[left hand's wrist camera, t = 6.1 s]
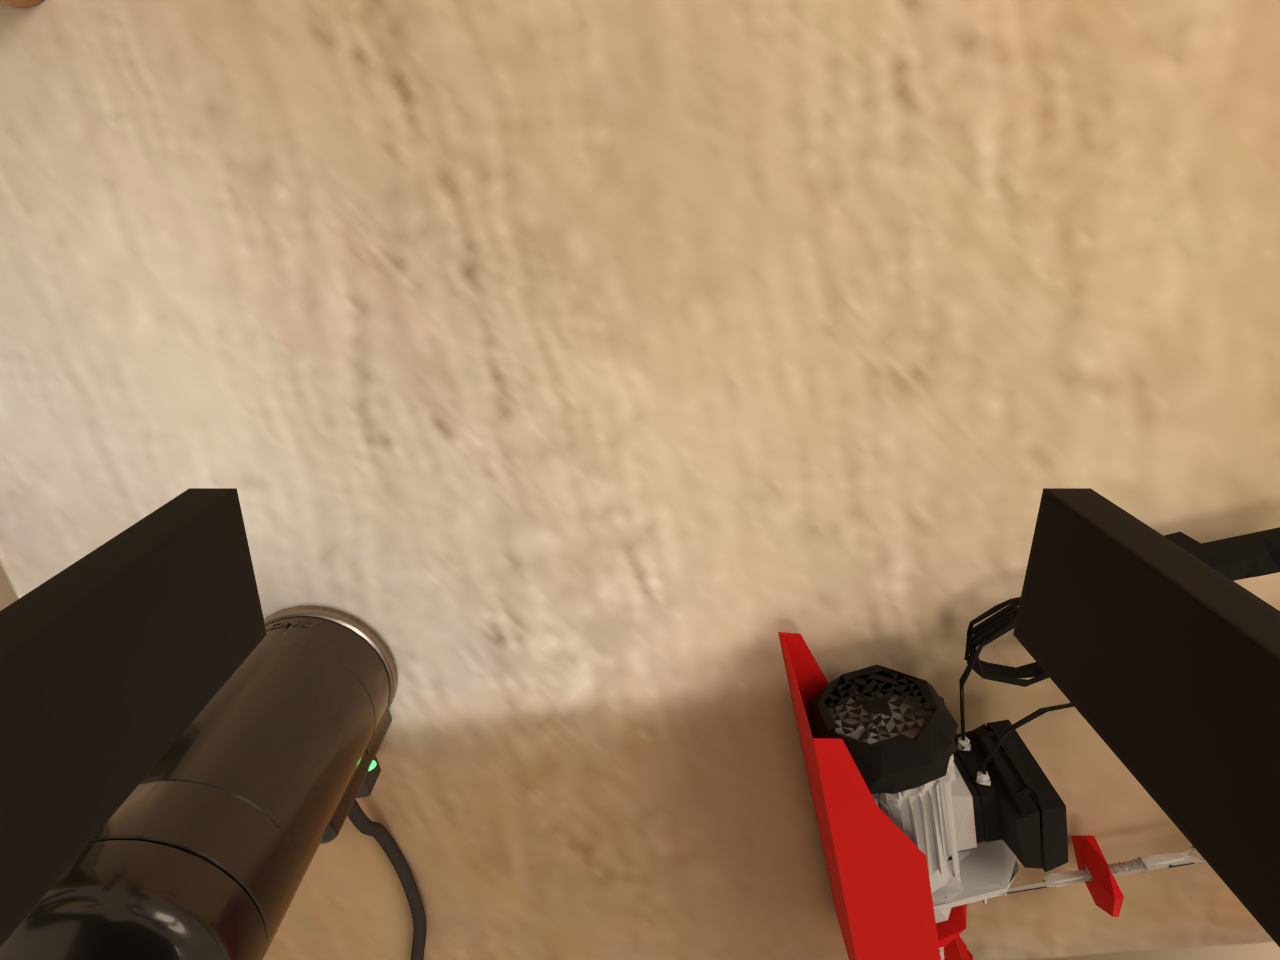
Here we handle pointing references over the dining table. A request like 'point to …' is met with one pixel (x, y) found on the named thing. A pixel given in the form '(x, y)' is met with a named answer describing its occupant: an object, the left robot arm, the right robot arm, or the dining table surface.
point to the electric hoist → (948, 790)
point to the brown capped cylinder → (20, 3)
